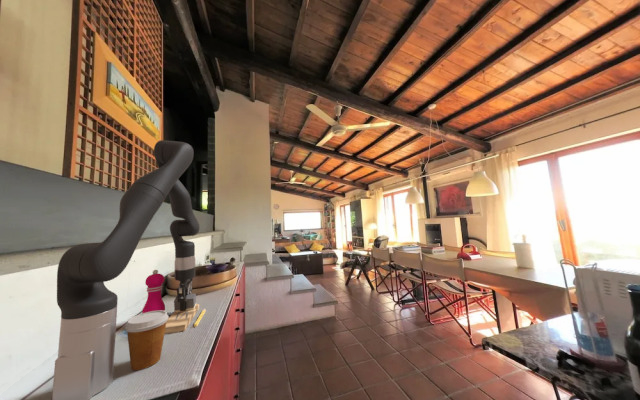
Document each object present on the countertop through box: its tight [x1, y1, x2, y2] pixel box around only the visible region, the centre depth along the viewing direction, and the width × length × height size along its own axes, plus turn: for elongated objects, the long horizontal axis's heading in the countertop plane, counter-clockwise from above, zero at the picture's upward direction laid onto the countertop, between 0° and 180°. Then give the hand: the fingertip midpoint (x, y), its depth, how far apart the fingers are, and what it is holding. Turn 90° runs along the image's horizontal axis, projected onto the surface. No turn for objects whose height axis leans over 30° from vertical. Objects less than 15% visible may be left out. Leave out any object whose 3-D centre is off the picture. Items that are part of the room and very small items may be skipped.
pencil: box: [193, 308, 207, 328], centre depth 87 cm, size 16×1×1 cm, turn 17°
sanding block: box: [173, 293, 197, 312], centre depth 92 cm, size 4×7×5 cm, turn 108°
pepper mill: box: [141, 269, 166, 314], centre depth 86 cm, size 7×7×20 cm
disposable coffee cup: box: [124, 310, 170, 371], centre depth 60 cm, size 10×10×12 cm
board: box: [164, 303, 200, 335], centre depth 86 cm, size 22×8×2 cm, turn 17°
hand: (185, 307), depth 92 cm, fingers open, 5 cm apart
